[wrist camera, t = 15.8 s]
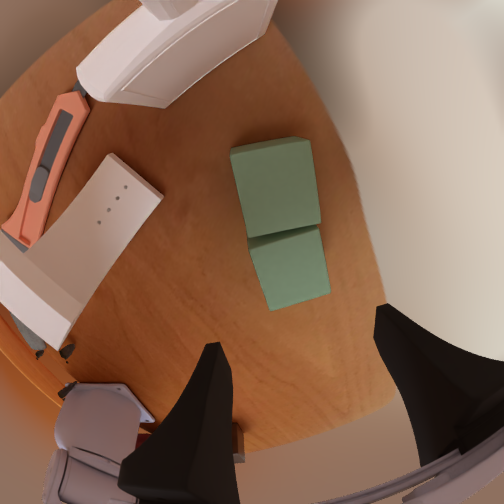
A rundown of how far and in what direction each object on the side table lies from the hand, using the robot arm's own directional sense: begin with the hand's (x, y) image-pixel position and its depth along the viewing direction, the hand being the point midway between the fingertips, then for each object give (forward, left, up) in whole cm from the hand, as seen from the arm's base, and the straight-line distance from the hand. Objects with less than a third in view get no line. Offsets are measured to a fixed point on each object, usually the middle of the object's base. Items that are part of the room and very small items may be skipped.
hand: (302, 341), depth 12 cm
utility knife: (-22, +5, -8) cm, 24 cm away
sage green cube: (+1, +1, -8) cm, 8 cm away
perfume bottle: (-2, +14, -8) cm, 16 cm away
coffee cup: (-10, +6, -8) cm, 14 cm away
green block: (+1, +6, -8) cm, 10 cm away
